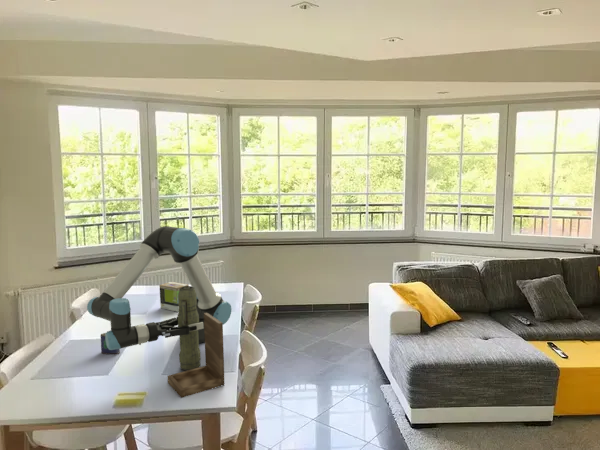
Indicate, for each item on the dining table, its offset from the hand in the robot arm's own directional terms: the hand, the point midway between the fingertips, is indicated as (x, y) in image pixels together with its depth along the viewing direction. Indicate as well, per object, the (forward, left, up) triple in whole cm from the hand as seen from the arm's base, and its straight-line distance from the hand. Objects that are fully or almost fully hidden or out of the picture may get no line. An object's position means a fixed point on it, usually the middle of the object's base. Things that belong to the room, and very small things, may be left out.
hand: (198, 321), depth 209 cm
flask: (+29, -36, -20) cm, 51 cm away
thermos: (+5, 0, -19) cm, 20 cm away
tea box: (-19, -83, -20) cm, 87 cm away
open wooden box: (+8, +16, -20) cm, 27 cm away
